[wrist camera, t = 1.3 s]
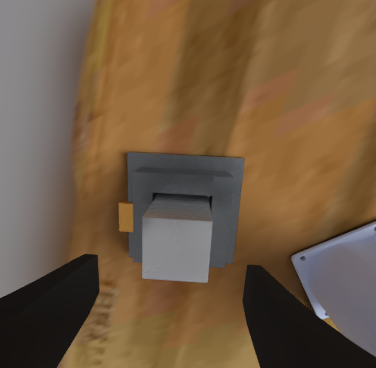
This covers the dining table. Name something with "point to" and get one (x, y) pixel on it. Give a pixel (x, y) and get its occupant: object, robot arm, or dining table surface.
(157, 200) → the post
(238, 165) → the stand base
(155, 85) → the dining table surface
